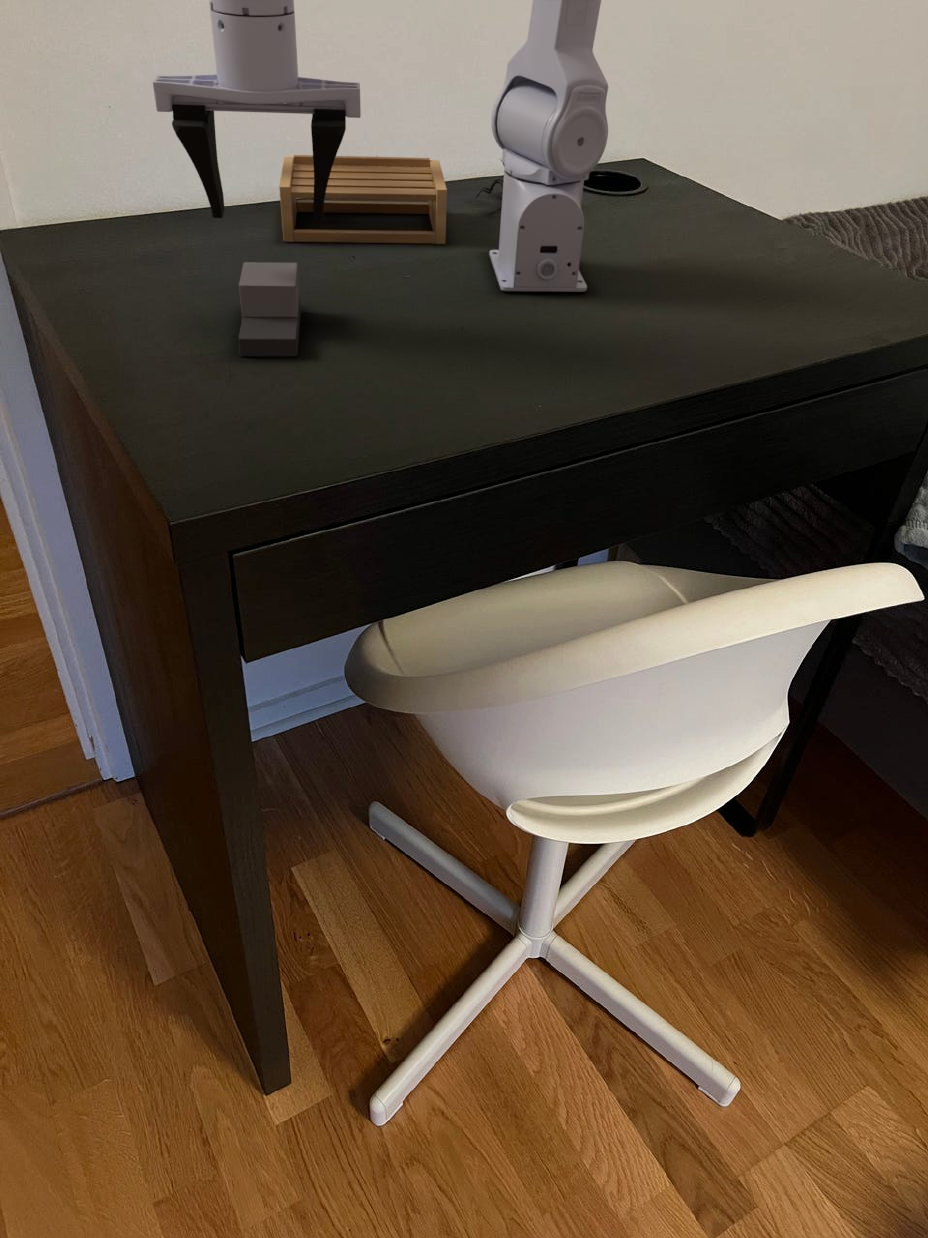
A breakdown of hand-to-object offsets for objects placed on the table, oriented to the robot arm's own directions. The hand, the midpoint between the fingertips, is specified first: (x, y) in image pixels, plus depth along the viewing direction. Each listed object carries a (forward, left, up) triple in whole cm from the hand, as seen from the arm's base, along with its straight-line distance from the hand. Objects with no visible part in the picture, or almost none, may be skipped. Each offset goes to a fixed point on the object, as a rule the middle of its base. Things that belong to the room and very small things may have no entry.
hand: (269, 214), depth 74 cm
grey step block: (-3, 0, -8) cm, 9 cm away
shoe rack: (+23, -8, -8) cm, 26 cm away
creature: (+30, -24, -9) cm, 39 cm away
